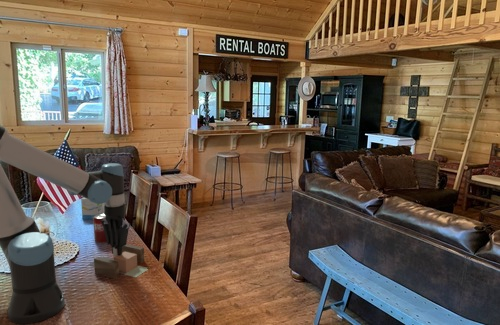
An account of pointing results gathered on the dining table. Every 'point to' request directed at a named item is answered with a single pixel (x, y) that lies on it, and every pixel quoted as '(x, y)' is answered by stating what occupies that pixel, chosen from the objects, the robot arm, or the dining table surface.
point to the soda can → (99, 228)
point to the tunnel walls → (112, 267)
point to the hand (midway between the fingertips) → (117, 262)
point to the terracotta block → (126, 261)
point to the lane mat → (134, 272)
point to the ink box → (90, 209)
